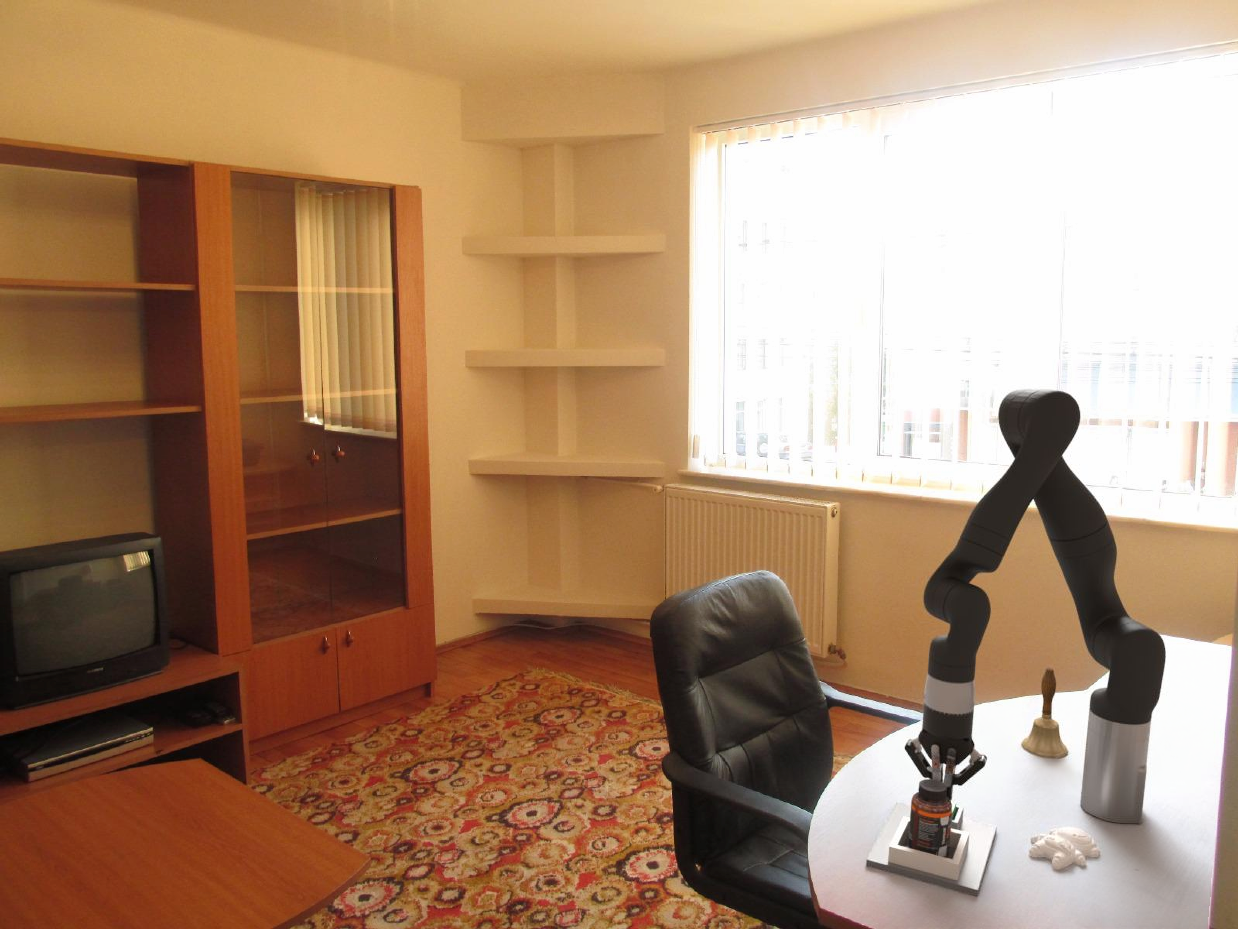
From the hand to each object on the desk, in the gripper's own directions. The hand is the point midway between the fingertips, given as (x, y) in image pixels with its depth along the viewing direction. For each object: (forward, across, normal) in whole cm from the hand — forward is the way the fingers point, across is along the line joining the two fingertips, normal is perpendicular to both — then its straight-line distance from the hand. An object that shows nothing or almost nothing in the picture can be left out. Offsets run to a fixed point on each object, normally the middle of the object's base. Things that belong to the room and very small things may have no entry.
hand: (941, 804), depth 158 cm
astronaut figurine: (+5, -18, -3) cm, 19 cm away
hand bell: (+5, -12, -41) cm, 43 cm away
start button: (+3, 0, 0) cm, 3 cm away
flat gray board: (+5, 0, +6) cm, 7 cm away
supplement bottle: (+4, 0, +10) cm, 11 cm away
